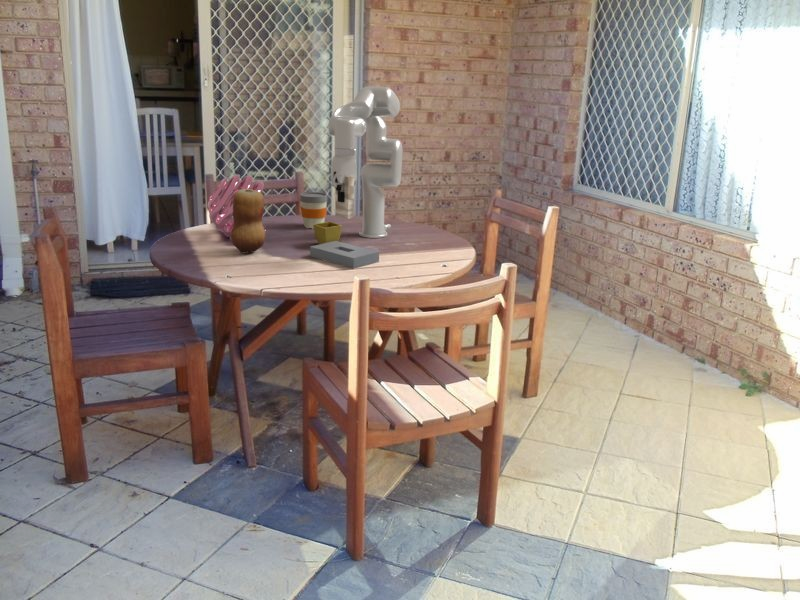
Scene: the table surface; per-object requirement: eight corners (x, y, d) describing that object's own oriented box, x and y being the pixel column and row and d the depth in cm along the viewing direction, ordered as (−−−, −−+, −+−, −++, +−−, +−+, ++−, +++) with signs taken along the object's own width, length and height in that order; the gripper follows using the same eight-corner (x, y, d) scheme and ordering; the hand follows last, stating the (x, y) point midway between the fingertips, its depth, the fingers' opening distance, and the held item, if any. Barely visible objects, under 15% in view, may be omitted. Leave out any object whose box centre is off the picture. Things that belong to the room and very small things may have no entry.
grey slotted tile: (335, 250, 300) (335, 240, 298) (378, 261, 285) (379, 251, 284) (310, 256, 290) (310, 246, 288) (353, 268, 275) (353, 258, 274)
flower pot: (324, 249, 301) (324, 227, 298) (312, 245, 307) (312, 223, 304) (342, 246, 306) (342, 225, 303) (330, 242, 313) (330, 221, 310)
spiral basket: (289, 187, 325) (235, 152, 315) (282, 215, 301) (224, 178, 292) (256, 233, 336) (203, 200, 327) (247, 263, 313) (190, 229, 303)
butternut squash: (263, 256, 288) (261, 193, 280) (229, 256, 287) (225, 192, 279) (267, 247, 301) (265, 187, 293) (234, 247, 300) (231, 186, 292)
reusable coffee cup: (323, 230, 333) (322, 197, 328) (296, 228, 335) (296, 196, 330) (331, 224, 344) (330, 193, 340) (305, 223, 347) (305, 191, 342)
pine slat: (340, 214, 285) (341, 173, 280) (353, 217, 281) (354, 175, 276) (335, 216, 283) (335, 174, 278) (348, 218, 279) (348, 176, 274)
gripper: (352, 150, 282) (352, 197, 288) (321, 153, 271) (322, 202, 276) (366, 151, 278) (366, 200, 284) (336, 155, 266) (336, 205, 272)
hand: (344, 200), depth 280 cm, fingers closed on pine slat, 3 cm apart
